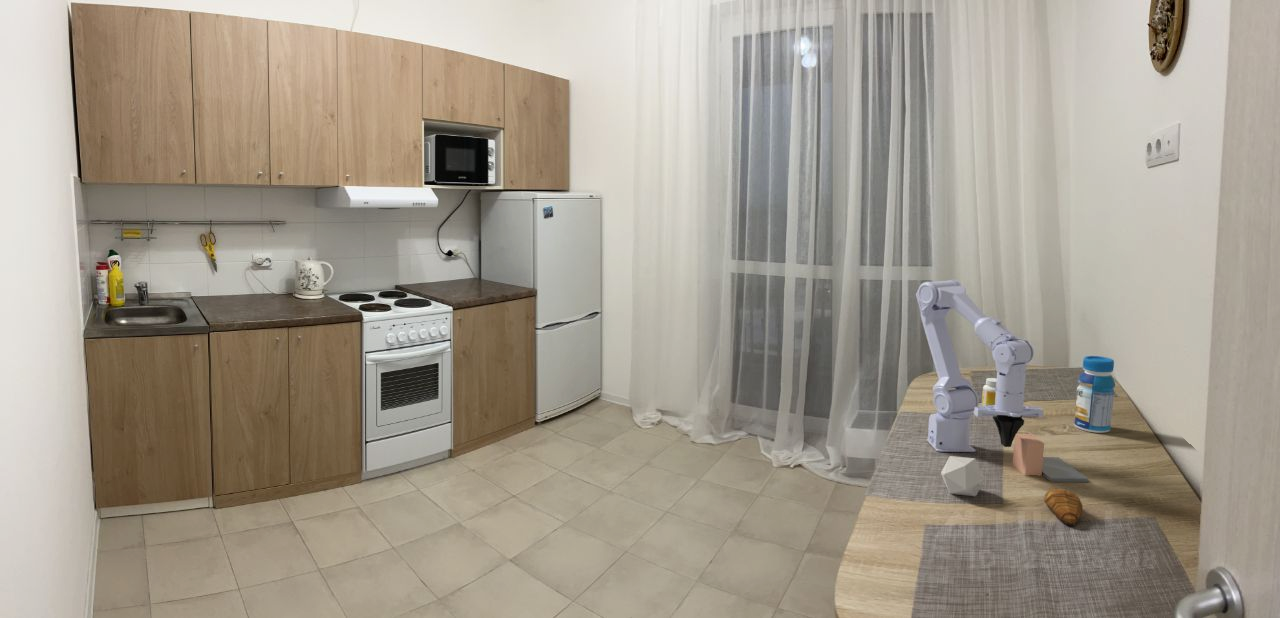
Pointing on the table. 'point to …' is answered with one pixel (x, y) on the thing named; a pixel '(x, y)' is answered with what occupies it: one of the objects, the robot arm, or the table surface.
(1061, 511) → the croissant
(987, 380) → the supplement bottle
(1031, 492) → the table surface
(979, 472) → the die
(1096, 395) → the beverage bottle
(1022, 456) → the block
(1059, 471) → the board
